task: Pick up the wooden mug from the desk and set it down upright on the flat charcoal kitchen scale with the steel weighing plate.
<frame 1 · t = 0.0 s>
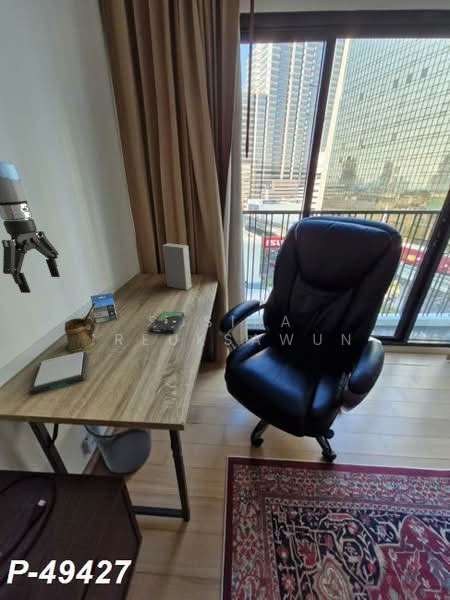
hand: (42, 284, 85), 27 cm above the table, tool pointing down, fingers open, 13 cm apart
upright grey slab: (179, 287, 148), on the table
wooden mug: (88, 346, 98), on the table
tape cartridge: (107, 320, 115), on the table
scale: (62, 374, 84), on the table
disk drive: (168, 325, 111), on the table
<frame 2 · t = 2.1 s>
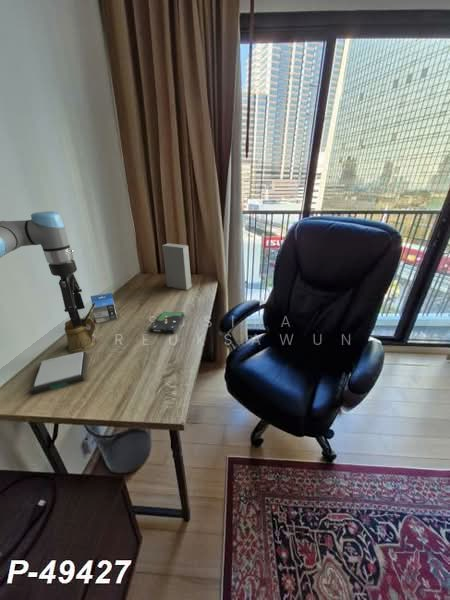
hand: (79, 316, 92), 13 cm above the table, tool pointing down, fingers open, 13 cm apart
nothing on the table moved.
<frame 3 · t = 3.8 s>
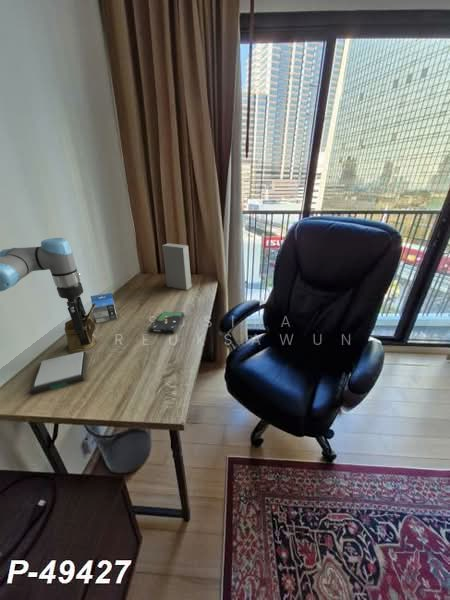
hand: (86, 338, 97), 3 cm above the table, tool pointing down, fingers closed on wooden mug, 7 cm apart
wooden mug: (88, 346, 98), on the table, touching gripper
everything else where it was.
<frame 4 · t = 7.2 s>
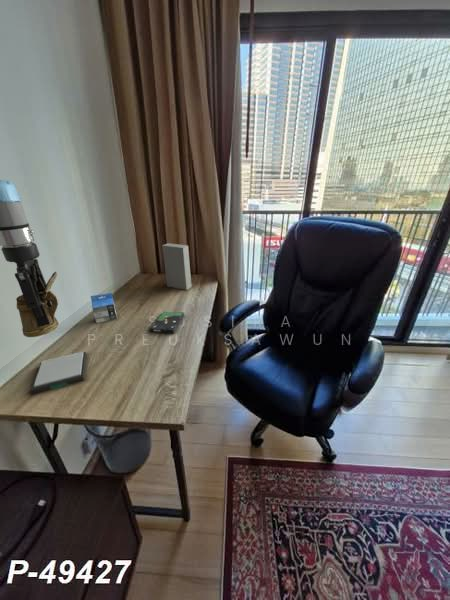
hand: (46, 318, 77), 20 cm above the table, tool pointing down, fingers closed on wooden mug, 7 cm apart
wooden mug: (49, 328, 78), point 17 cm above the table, touching gripper
everything else where it was.
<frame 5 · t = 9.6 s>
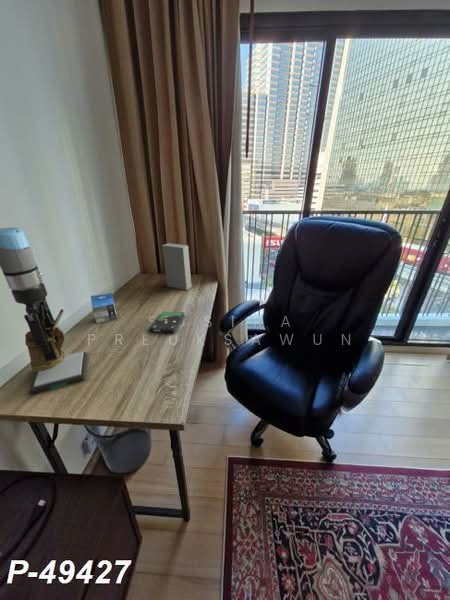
hand: (54, 352, 80), 9 cm above the table, tool pointing down, fingers closed on wooden mug, 7 cm apart
wooden mug: (56, 361, 81), point 6 cm above the table, touching gripper
everything else where it was.
when the fingers open (6 cm above the table, at t = 10.9 s): wooden mug stays where it is, resting on scale.
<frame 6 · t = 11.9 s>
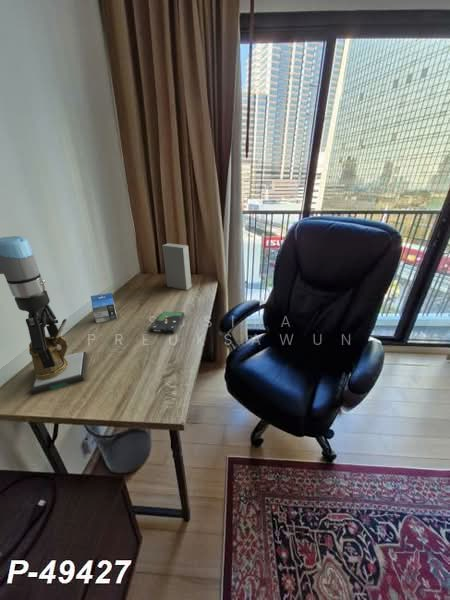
hand: (54, 353, 80), 9 cm above the table, tool pointing down, fingers open, 13 cm apart
wooden mug: (60, 369, 82), point 3 cm above the table, touching scale
everything else where it was.
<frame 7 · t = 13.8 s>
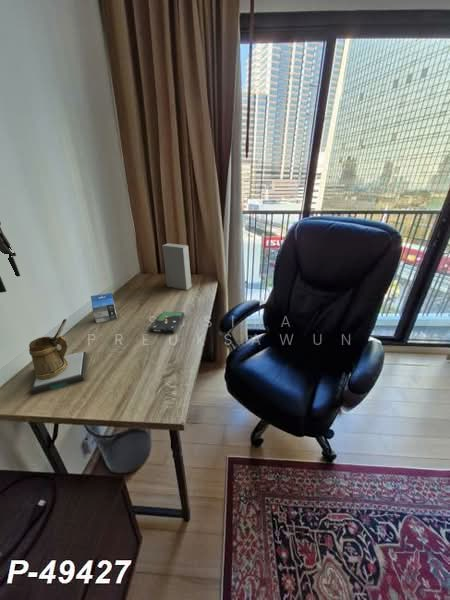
hand: (8, 283, 78), 30 cm above the table, tool pointing down, fingers open, 13 cm apart
nothing on the table moved.
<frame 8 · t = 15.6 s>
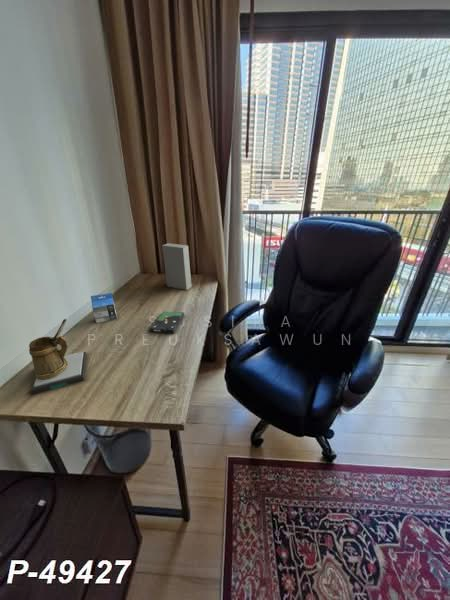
nothing on the table moved.
at the end: wooden mug inside the target area on the scale (0.4 cm from its centre), point 2.6 cm above the scale's base; wooden mug tilted 0°; the gripper is holding nothing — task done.
